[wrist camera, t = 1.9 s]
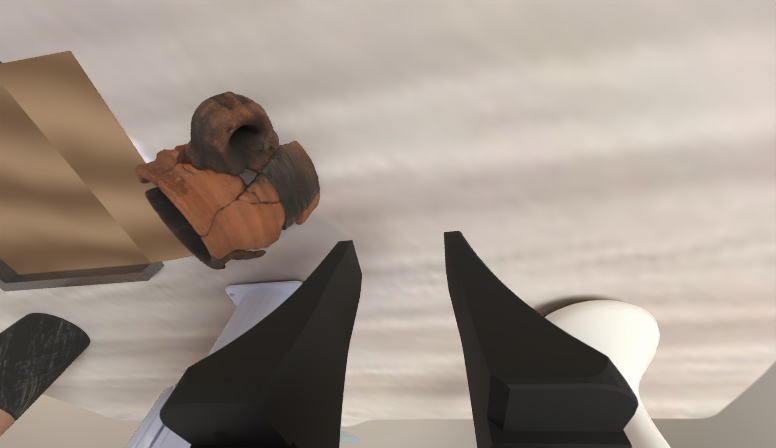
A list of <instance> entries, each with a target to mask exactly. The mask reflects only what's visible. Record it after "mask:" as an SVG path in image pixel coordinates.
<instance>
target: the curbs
mask: <svg viewBox="0 0 776 448" xmlns="http://www.w3.org/2000/svg"><path fill="white" fill-rule="evenodd" d="M0 64H2V63H1V62H0ZM163 266H164V264H163V263H162V262H155V263H148V264H136V265H125V266H113V267H101V268H89V269H78V270H66V271H54V272H43V273H31V274H18V273H17V272H16V271H14V270H13V269H12V268H11V267H9V266H8V265H7V264H6V263H5V262H3V261H2V260H1V259H0V288H1V289H2V290H3V291H16V290H29V289H43V288H56V287H69V286H82V285H95V284H109V283H122V282H135V281H148V280H149V279H150V278H151V277H152V276H153V275H155V274H156V273H157V272H158V271H159V270H160V269H161V268H162V267H163Z"/></svg>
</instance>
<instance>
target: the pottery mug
mask: <svg viewBox="0 0 776 448" xmlns="http://www.w3.org/2000/svg"><path fill="white" fill-rule="evenodd" d="M245 168H246V169H249V170H253V171H255V172H257V176H256V177H255V179H254V180H253V181H252V182H251V183H250V184H249V185H248V186H247V185H246V184H245V183H244V181H243V179H242V178H241V177H240V176H238V174H240V173H242V172H243V171H244V169H245ZM135 173H136V175H137V177H138V178H139V181H140V182H141V183H144V184H145V183H149V182H151V183H153V184H154V185H156V186H157V187H155V188H152V189H149V190H147V191H146V192H145V196H146V198H147V200H148V201H149V203H150V204H151V206H152V207H153V209H154V210H155V211H156V212H157V214H158V215H159V217H160V218H161V220H162V221H163V222H164V223H165V225H166V226H167V227H168V228H169V229H170V231H171V232H172V233H173V234H174V235H175V236H176V237H177V238H178V239H179V241H180V242H181V243H182V244H183V245H184V246H185V247H186V248H187V249H188V250H189V251H190V252H191V253H192V254H194V255H195V256H196V257H197V258H198V259H199V260H200V261H202V262H203V263H205V264H206V265H207V266H209V267H210V268H213V269H217V270H218V269H224V268H225V263H226V262H228V261H229V260H231V259H235V260H242V259H244V260H248V259H252V258H258V257H261V256H263V255H264V254H265V253H266V252H265V251H264V250H259V251H254V252H253V251H245V250H249V249H260V248H266V247H269V246H270V245H271V244H272V243H274V242H275V241H277V240H278V239H279V236H280V233H281V230H286V229H287V228H288V227H289V226H291V225H292V224H293V222H294V221H295V220H296V221H295V222H296V223H297V224H299V225H301V224H302V223H303V222H305V220H306V219H307V218H308V217H309V215H310V214H311V212H312V211H313V210H314V209H315V208H316V206H317V205H318V202H319V198H320V192H319V191H320V187H319V182H318V176H317V173H316V171H315V168H314V165H313V163H312V161H311V159H310V158H309V156H308V155H307V154H306V152H305V150H304V149H303V148H302V147H301V145H300V144H299V143H298V142H297V141H293V142H291V143H289V144H284V145H279V139H278V135H277V134H276V132H275V131H274V130H273V127H272V124H271V121H270V119H269V118H268V116H267V114H266V112H265V110H264V109H263V108H262V107H261V106H260V105H259V104H257V103H255V102H254V101H253V100H251V99H249V98H247V97H244V96H242V95H237V94H234V93H232V92H226V93H222V94H219V95H215V96H213V97H210V98H209V99H207V100H205V101H204V102H202V103H201V104H200V105H199V106H198V108H197V109H196V111H195V112H194V114H193V117H192V121H191V141H190V142H189V143H188V144H185V145H181V146H176V147H175V149H174V150H165V149H164V150H162V151H160V152H159V153H157V158H156V160H155V161H152V162H150V163H147V164H139V165H137V166H136V168H135Z"/></svg>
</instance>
